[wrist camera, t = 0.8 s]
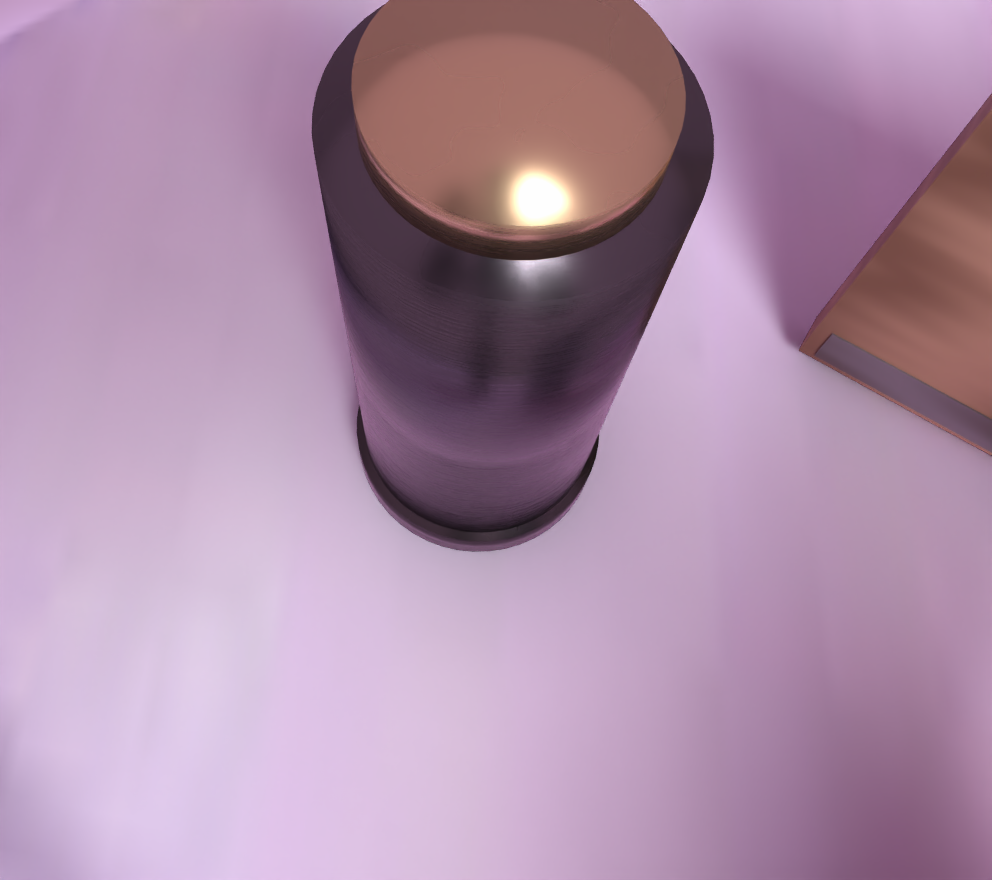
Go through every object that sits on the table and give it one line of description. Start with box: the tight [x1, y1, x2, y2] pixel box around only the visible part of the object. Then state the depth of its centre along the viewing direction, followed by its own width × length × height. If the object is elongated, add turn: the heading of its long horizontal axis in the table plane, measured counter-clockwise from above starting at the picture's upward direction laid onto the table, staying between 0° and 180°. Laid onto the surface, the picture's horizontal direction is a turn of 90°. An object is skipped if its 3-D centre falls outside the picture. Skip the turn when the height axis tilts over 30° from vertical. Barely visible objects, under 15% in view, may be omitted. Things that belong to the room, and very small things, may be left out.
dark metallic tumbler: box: [312, 0, 714, 552], centre depth 18 cm, size 6×6×13 cm
